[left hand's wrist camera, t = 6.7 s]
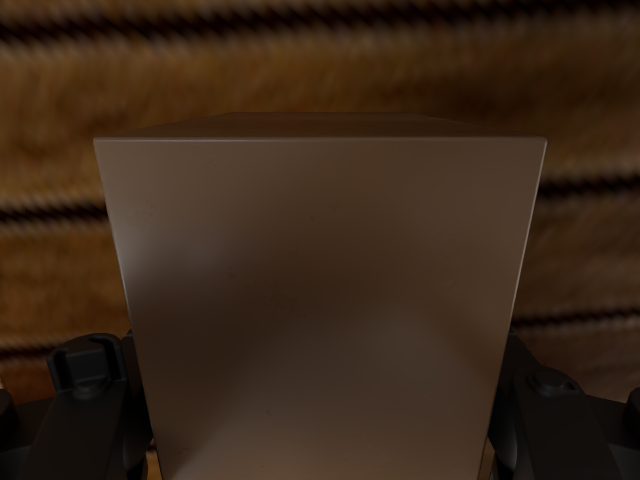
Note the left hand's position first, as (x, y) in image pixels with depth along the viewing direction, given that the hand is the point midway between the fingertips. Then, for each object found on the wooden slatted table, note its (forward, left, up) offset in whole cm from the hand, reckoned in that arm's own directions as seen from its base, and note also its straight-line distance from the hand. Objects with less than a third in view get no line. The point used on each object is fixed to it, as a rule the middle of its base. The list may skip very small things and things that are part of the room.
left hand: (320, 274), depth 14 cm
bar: (+2, +19, -1) cm, 19 cm away
